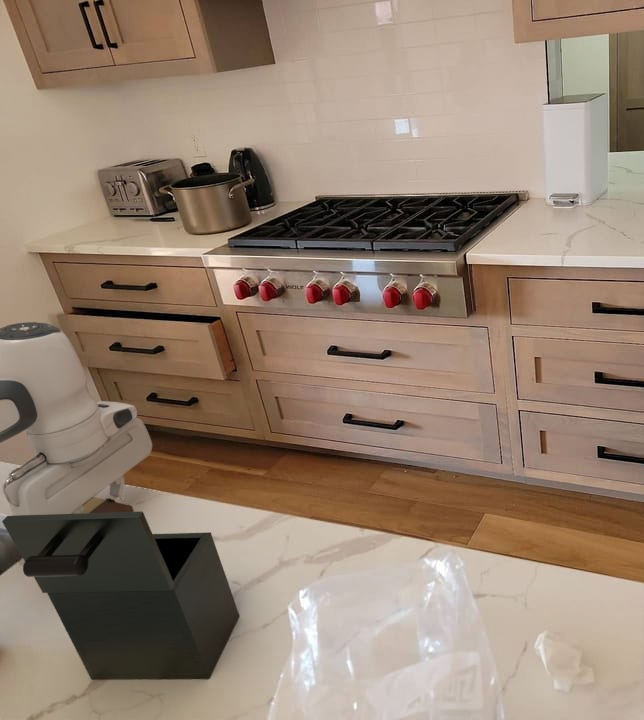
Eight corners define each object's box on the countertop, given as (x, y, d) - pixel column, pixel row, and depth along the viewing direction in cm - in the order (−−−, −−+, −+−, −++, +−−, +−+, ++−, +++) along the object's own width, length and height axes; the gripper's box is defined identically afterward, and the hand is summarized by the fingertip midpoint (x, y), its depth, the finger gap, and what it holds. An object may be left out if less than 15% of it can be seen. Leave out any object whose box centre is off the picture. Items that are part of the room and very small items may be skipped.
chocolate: (138, 521, 99) (132, 505, 97) (119, 538, 96) (112, 521, 94) (98, 512, 102) (91, 496, 100) (78, 528, 99) (70, 511, 97)
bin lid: (7, 515, 64) (-33, 556, 60) (142, 511, 63) (112, 552, 58) (47, 586, 69) (13, 629, 64) (174, 584, 67) (149, 628, 63)
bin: (132, 617, 82) (95, 535, 76) (239, 616, 80) (210, 532, 75) (90, 679, 74) (46, 593, 69) (209, 679, 73) (174, 590, 67)
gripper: (15, 484, 82) (57, 570, 88) (143, 400, 99) (171, 477, 105) (-20, 477, 84) (24, 561, 90) (111, 396, 101) (141, 472, 107)
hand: (104, 515), depth 98 cm, fingers closed on chocolate, 3 cm apart
